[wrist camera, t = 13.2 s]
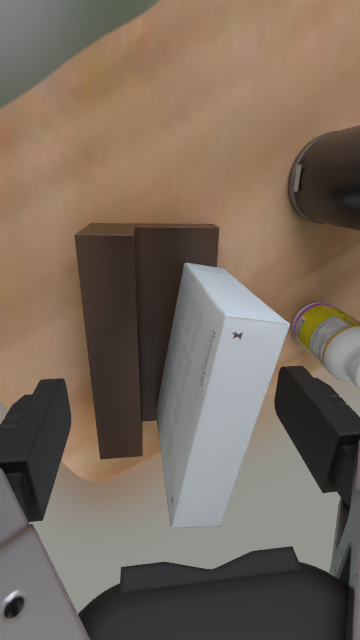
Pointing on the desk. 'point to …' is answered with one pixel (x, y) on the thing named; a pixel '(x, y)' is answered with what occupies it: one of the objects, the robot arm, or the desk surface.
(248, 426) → the skincare box
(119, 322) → the metal step block
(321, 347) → the supplement bottle
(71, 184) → the desk surface
